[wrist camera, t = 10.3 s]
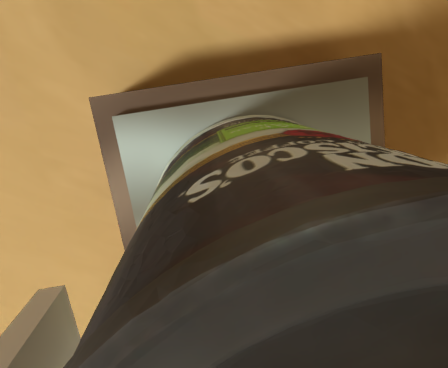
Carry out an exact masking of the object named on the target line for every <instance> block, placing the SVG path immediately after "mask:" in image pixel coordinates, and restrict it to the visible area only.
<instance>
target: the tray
mask: <svg viewBox="0 0 448 368" xmlns="http://www.w3.org/2000/svg"><path fill="white" fill-rule="evenodd" d="M89 101H90V105H91V109H92V114H93V118H94V122H95V126H96V131H97V135H98V139H99V143H100V148H101V152H102V156H103V160H104V164H105V169H106V173H107V177H108V181H109V186H110V190H111V194H112V198H113V203H114V207H115V211H116V215H117V220H118V224H119V228H120V232H121V236H122V241H123V245H124V249H125V250H126V248H127V246H128V244H129V242H130V240H131V239H132V237H133V235H134V233H135V231H136V229H137V227H138V225H139V223H140V221H141V219H142V217H143V215H144V213H145V211H146V209H147V207H148V205H149V203H150V201H151V199H152V197H153V194H154V192H155V190H156V188H157V184H158V182H159V179H160V177H161V175H162V173H163V171H164V169H165V168H166V166H167V164H168V162H169V161H170V160H171V158H172V157H173V156H174V154H175V153H176V152H177V151H178V150H179V149H180V148H181V147H182V146H183V145H184V144H185V143H186V142H187V141H188V140H189V139H191V138H192V137H193V136H195V135H196V134H198V133H199V132H201V131H202V130H204V129H206V128H208V127H210V126H212V125H214V124H216V123H219V122H221V121H224V120H227V119H231V118H235V117H240V116H246V115H271V116H276V117H281V118H285V119H288V120H291V121H294V122H297V123H299V124H301V125H303V126H306V127H310V128H313V129H317V130H321V131H324V132H328V133H332V134H336V135H340V136H343V137H347V138H350V139H355V140H359V141H362V142H365V143H369V144H372V145H376V146H382V147H385V135H384V110H383V85H382V59H381V53H378V54H371V55H364V56H358V57H351V58H345V59H338V60H332V61H325V62H319V63H312V64H306V65H299V66H293V67H286V68H279V69H273V70H266V71H260V72H253V73H247V74H240V75H234V76H227V77H221V78H214V79H208V80H201V81H194V82H188V83H181V84H175V85H168V86H162V87H155V88H149V89H142V90H136V91H129V92H123V93H116V94H109V95H103V96H96V97H90V98H89Z"/></svg>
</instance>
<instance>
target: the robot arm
mask: <svg viewBox="0 0 448 368" xmlns="http://www.w3.org/2000/svg"><path fill="white" fill-rule="evenodd" d="M80 340H81V338H80V335H79V332H78V328H77V325H76V321H75V318H74V315H73V311H72V308H71V304H70V301H69V298H68V294H67V291H66V288H65V285H63V286H57V287H51V288H45V289H39V290H38V291H37V292H36V293H35V294H34V296H33V297H32V298H31V299H30V301H29V302H28V303H27V304H26V305H25V307H24V308H23V309H22V310H21V312H20V313H19V314H18V315H17V316H16V318H15V319H14V320H13V321H12V323H11V324H10V325H9V326H8V327H7V329H6V330H5V331H4V332H3V334H2V335H1V336H0V368H63V367H64V366H65V365H66V363H67V362H68V361H69V360H70V359H71V357H72V356H73V354H74V352H75V350H76V348H77V346H78V344H79V342H80Z"/></svg>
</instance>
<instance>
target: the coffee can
mask: <svg viewBox="0 0 448 368" xmlns="http://www.w3.org/2000/svg"><path fill="white" fill-rule="evenodd" d="M63 368H448V165H447V164H444V163H441V162H436V161H431V160H427V159H424V158H420V157H417V156H414V155H412V154H408V153H405V152H401V151H397V150H392V149H388V148H385V147H382V146H376V145H372V144H369V143H365V142H362V141H359V140H355V139H350V138H347V137H343V136H340V135H336V134H332V133H328V132H324V131H321V130H317V129H313V128H310V127H306V126H303V125H301V124H299V123H297V122H294V121H291V120H288V119H285V118H281V117H276V116H271V115H246V116H240V117H235V118H231V119H227V120H224V121H221V122H219V123H216V124H214V125H212V126H210V127H208V128H206V129H204V130H202V131H201V132H199V133H198V134H196V135H195V136H193V137H192V138H191V139H189V140H188V141H187V142H186V143H185V144H184V145H183V146H182V147H181V148H180V149H179V150H178V151H177V152H176V153H175V154H174V156H173V157H172V158H171V160H170V161H169V162H168V164H167V166H166V168H165V169H164V171H163V173H162V175H161V177H160V179H159V182H158V184H157V188H156V190H155V192H154V194H153V197H152V199H151V201H150V203H149V205H148V207H147V209H146V211H145V213H144V215H143V217H142V219H141V221H140V223H139V225H138V227H137V229H136V231H135V233H134V235H133V237H132V239H131V240H130V242H129V244H128V246H127V248H126V250H125V252H124V254H123V256H122V258H121V260H120V262H119V264H118V266H117V268H116V269H115V272H114V274H113V276H112V278H111V280H110V282H109V284H108V286H107V288H106V291H105V293H104V295H103V296H102V298H101V300H100V302H99V304H98V306H97V308H96V310H95V312H94V314H93V316H92V318H91V320H90V322H89V324H88V326H87V328H86V330H85V332H84V334H83V336H82V338H81V340H80V342H79V344H78V346H77V348H76V350H75V352H74V354H73V356H72V357H71V359H70V360H69V361H68V362H67V363H66V365H65V366H64V367H63Z"/></svg>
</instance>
